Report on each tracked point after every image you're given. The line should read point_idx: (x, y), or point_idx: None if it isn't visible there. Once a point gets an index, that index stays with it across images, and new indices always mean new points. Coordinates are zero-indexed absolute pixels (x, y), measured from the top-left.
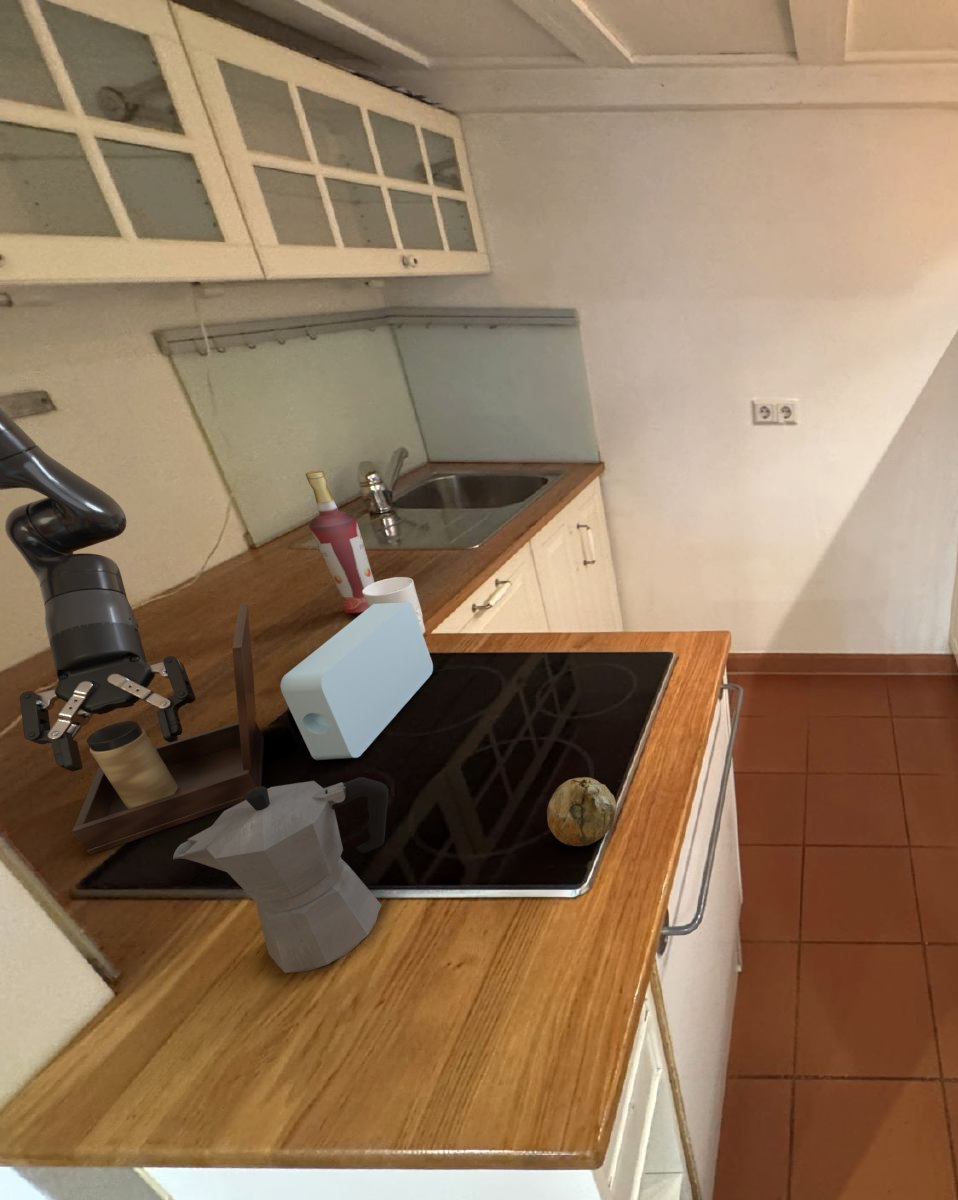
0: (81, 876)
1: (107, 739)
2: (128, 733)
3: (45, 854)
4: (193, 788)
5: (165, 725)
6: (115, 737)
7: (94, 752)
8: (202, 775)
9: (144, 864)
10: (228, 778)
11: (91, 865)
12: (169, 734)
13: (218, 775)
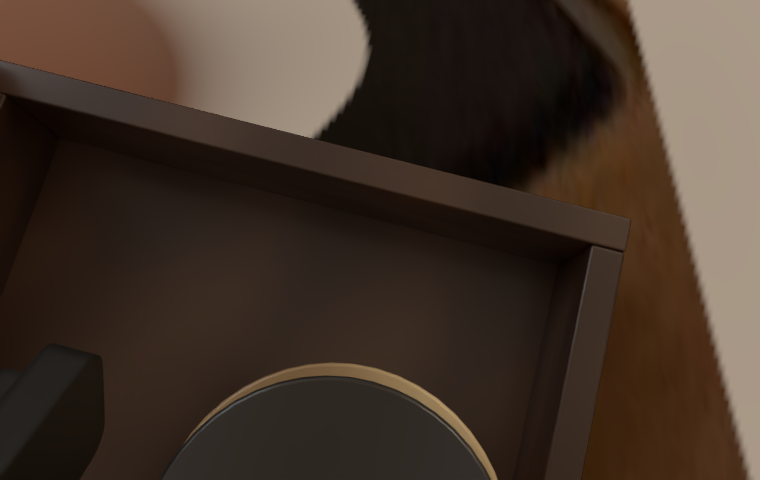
0: (610, 139)
1: (375, 427)
2: (231, 406)
3: (712, 420)
4: (192, 134)
5: (5, 414)
6: (321, 405)
7: (485, 461)
8: (155, 474)
9: (445, 30)
10: (61, 82)
11: (581, 182)
12: (48, 346)
13: (108, 403)
